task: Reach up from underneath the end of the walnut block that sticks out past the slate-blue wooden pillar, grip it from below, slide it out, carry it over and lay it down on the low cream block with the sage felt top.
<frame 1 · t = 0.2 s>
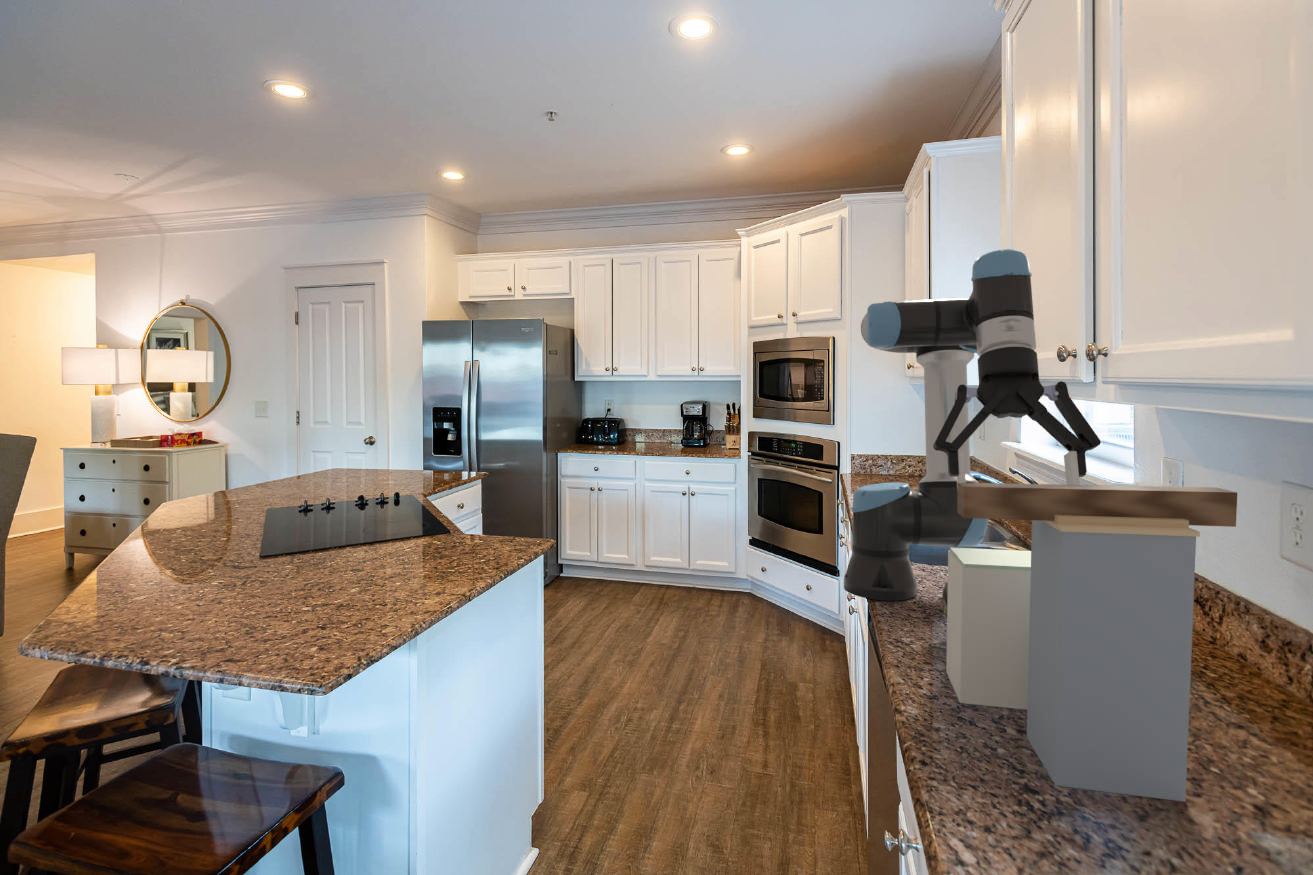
hand: (1017, 500, 86), 28 cm above the worktop, tool tilted 20°, fingers open, 13 cm apart
stone: (978, 648, 107), on the worktop
walnut block: (1086, 519, 71), point 28 cm above the worktop, touching pillar
pillar: (1099, 766, 72), on the worktop
felt block: (1029, 694, 90), on the worktop
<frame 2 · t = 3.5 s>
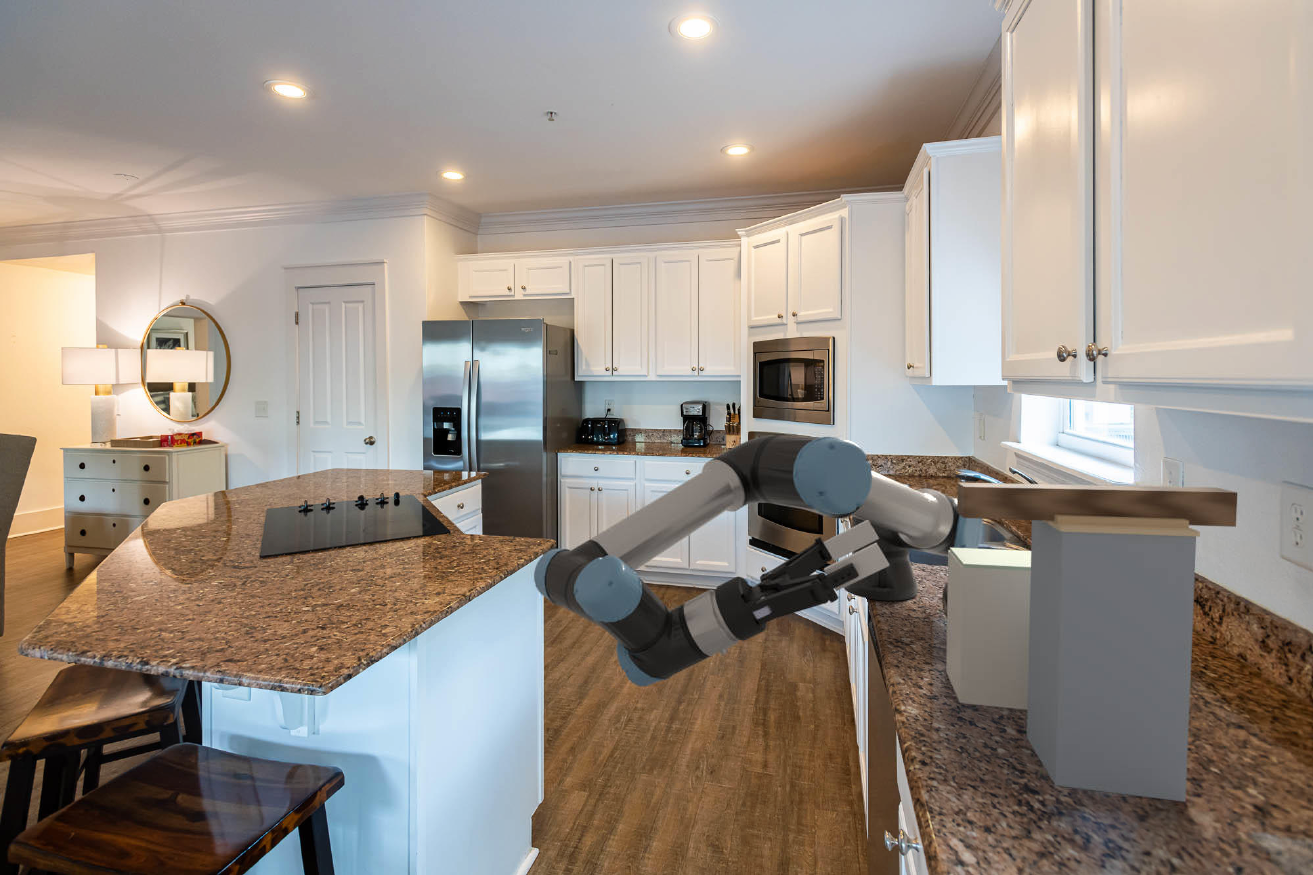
hand: (878, 540, 77), 25 cm above the worktop, tool pointing upward, fingers open, 13 cm apart
nothing on the worktop moved.
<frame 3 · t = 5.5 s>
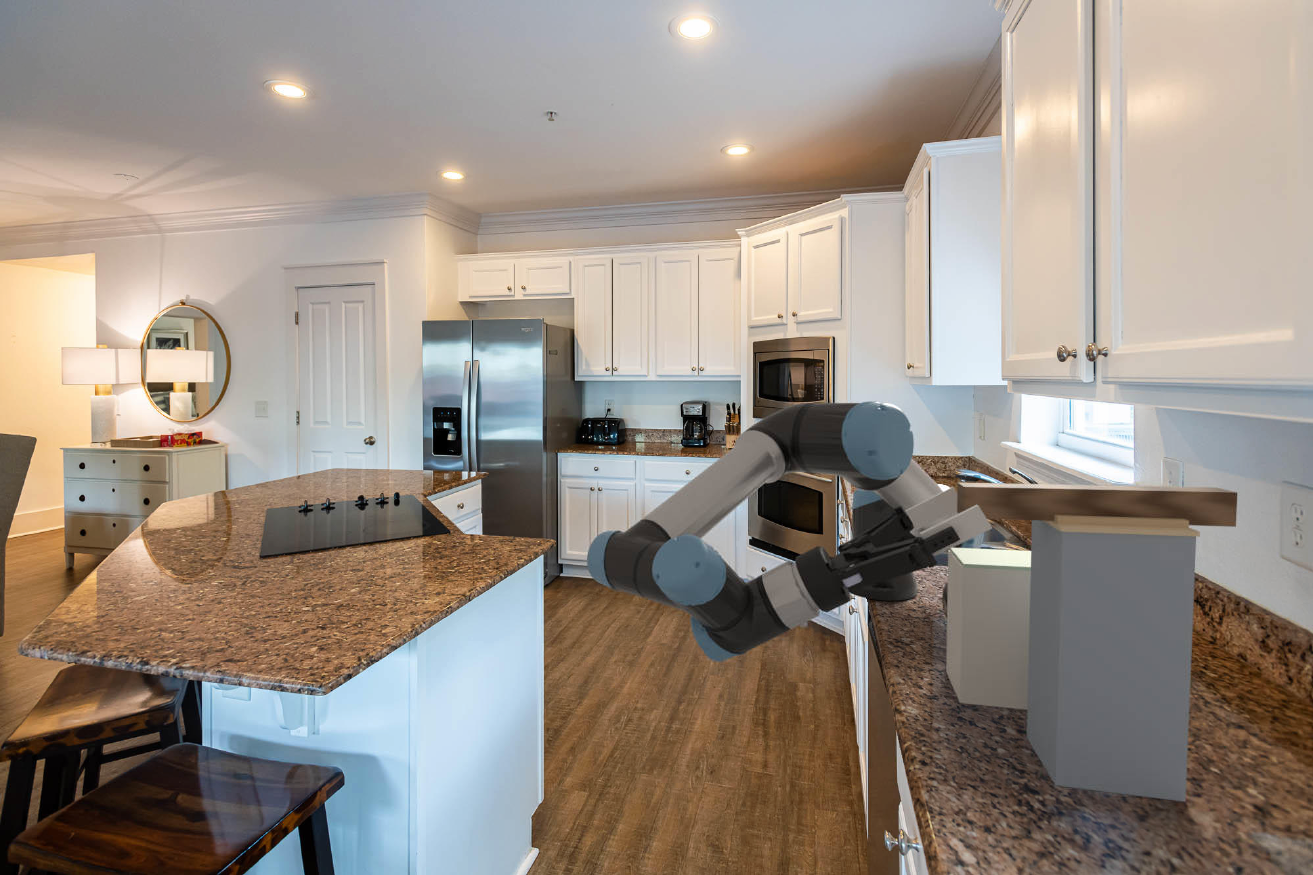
hand: (971, 505, 73), 30 cm above the worktop, tool pointing upward, fingers open, 13 cm apart
nothing on the worktop moved.
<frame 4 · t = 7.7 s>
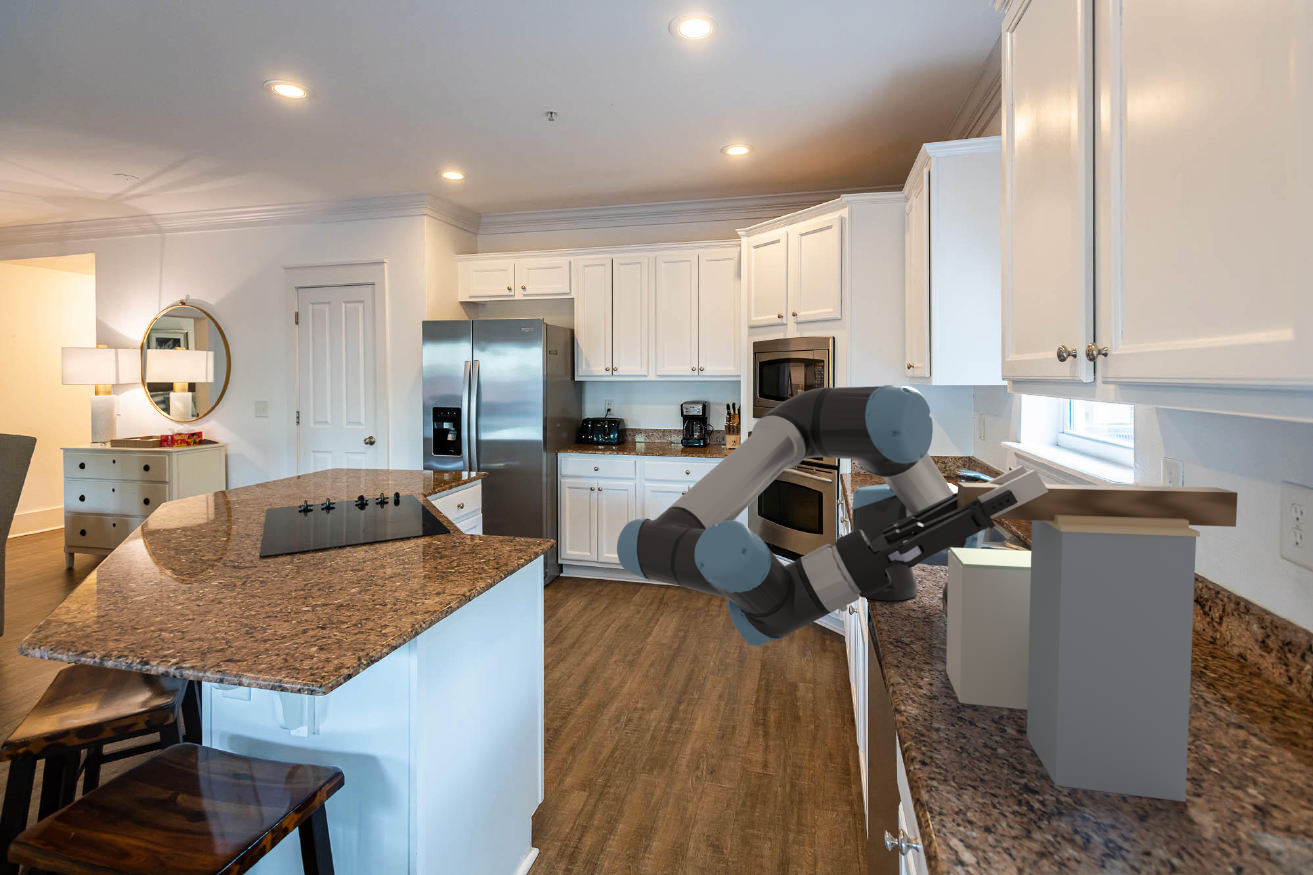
hand: (1034, 478, 72), 33 cm above the worktop, tool pointing upward, fingers closed on walnut block, 4 cm apart
walnut block: (1086, 519, 71), point 29 cm above the worktop, touching gripper
everything else where it was.
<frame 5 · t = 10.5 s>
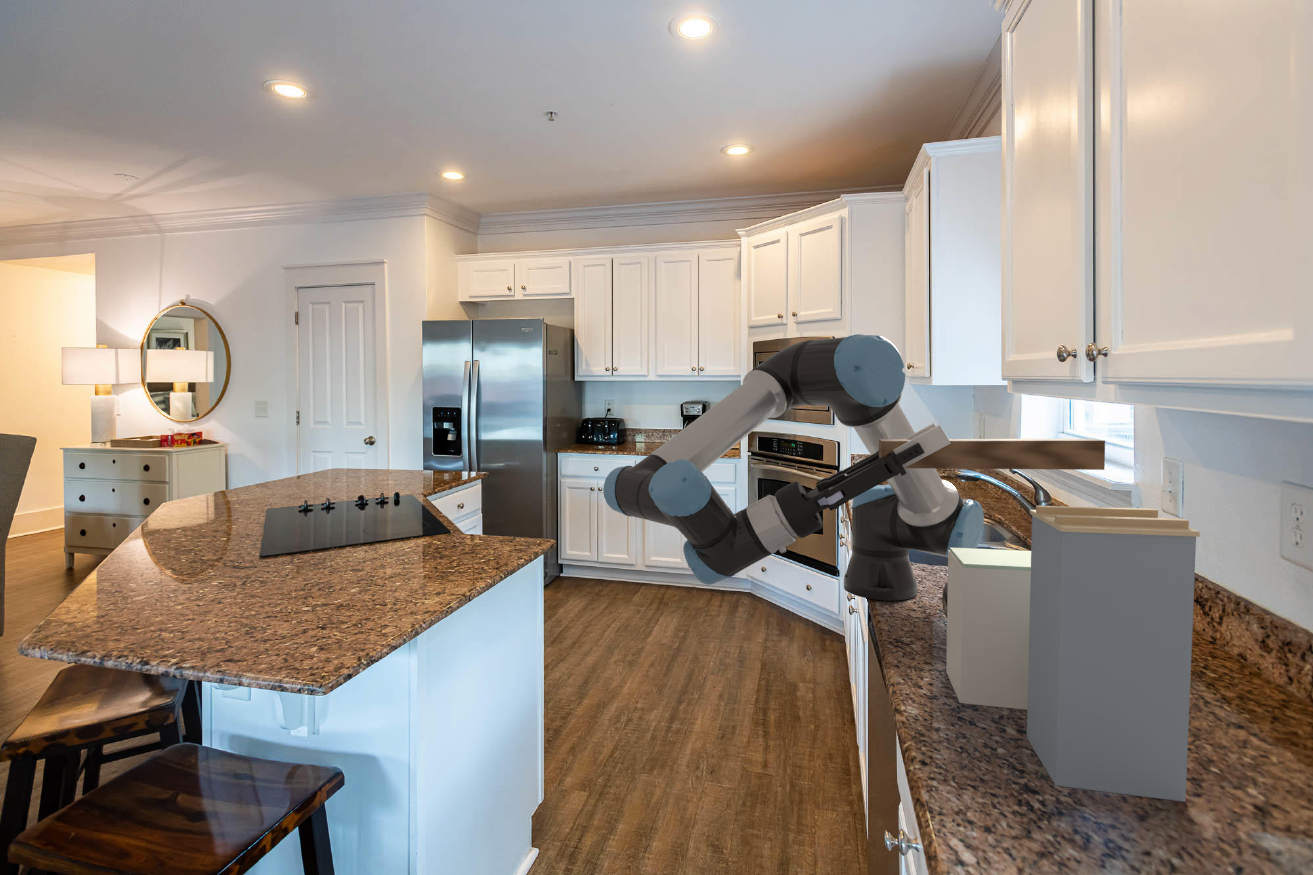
hand: (941, 433, 84), 38 cm above the worktop, tool pointing upward, fingers closed on walnut block, 4 cm apart
walnut block: (984, 467, 83), point 33 cm above the worktop, touching gripper
everything else where it was.
when the fingers open (25 cm above the worktop, at t = 13.7 s): walnut block drops 1 cm, resting on felt block.
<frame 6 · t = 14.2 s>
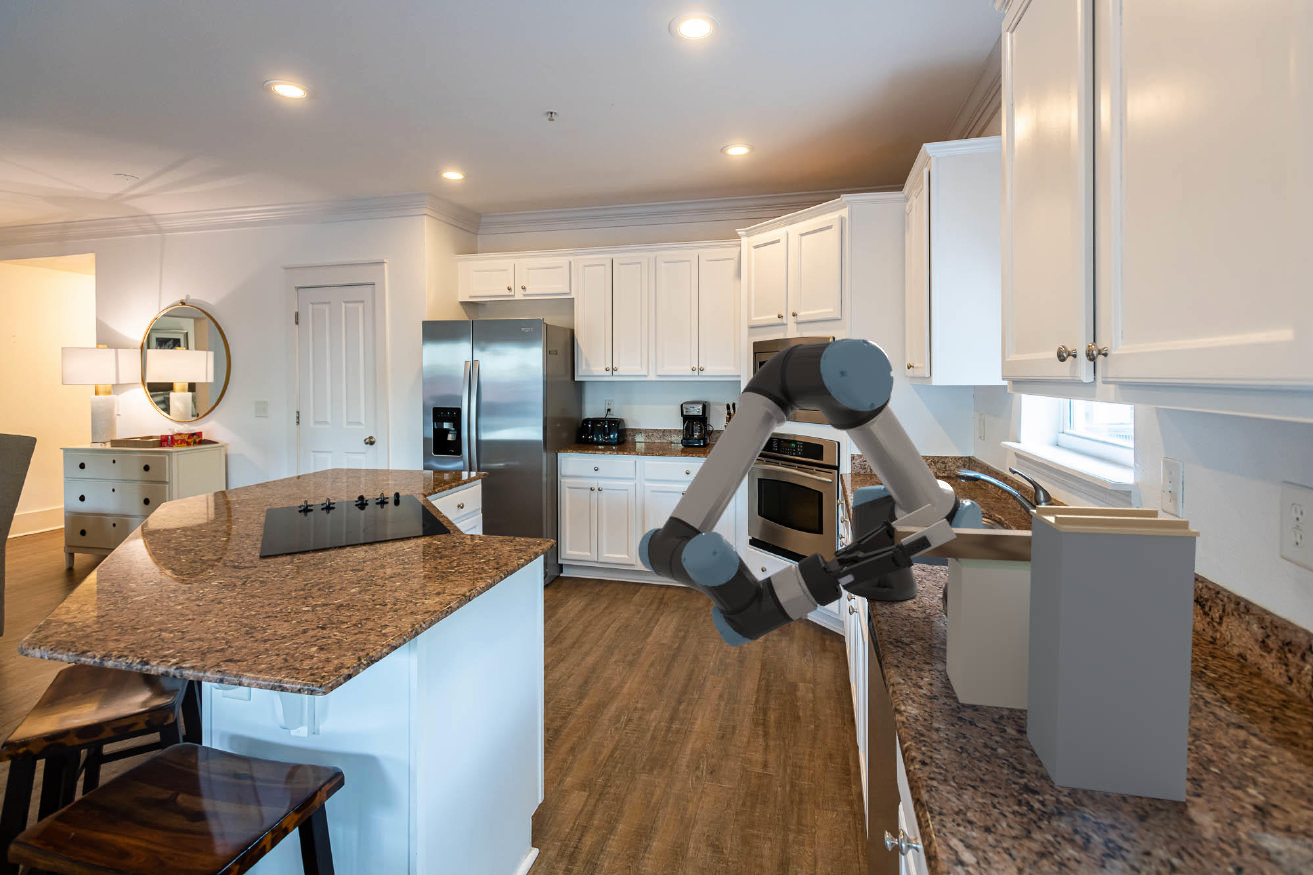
hand: (942, 519, 91), 25 cm above the worktop, tool pointing upward, fingers open, 11 cm apart
walnut block: (992, 556, 90), point 19 cm above the worktop, touching felt block
everything else where it was.
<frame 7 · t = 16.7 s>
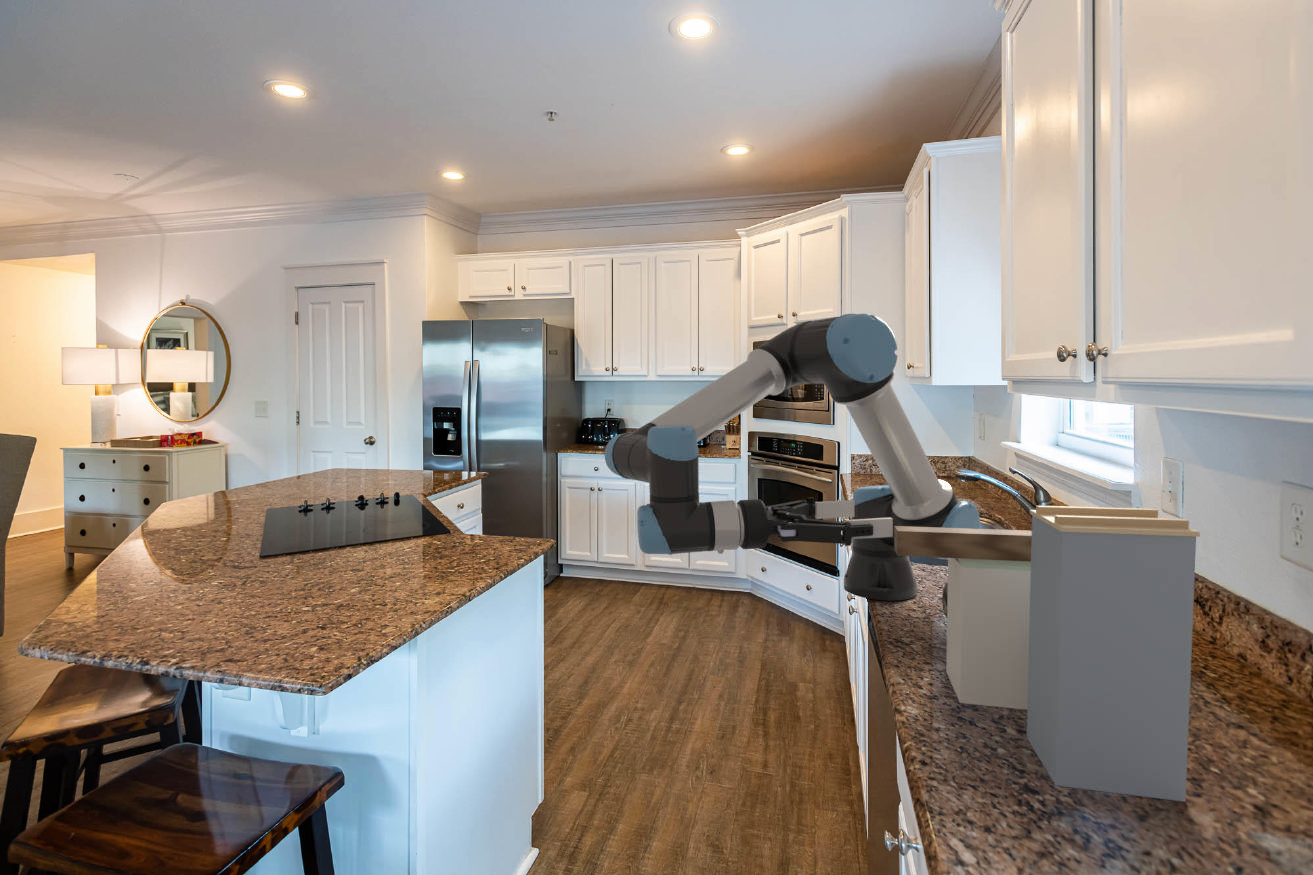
hand: (871, 517, 99), 24 cm above the worktop, tool horizontal, fingers open, 13 cm apart
nothing on the worktop moved.
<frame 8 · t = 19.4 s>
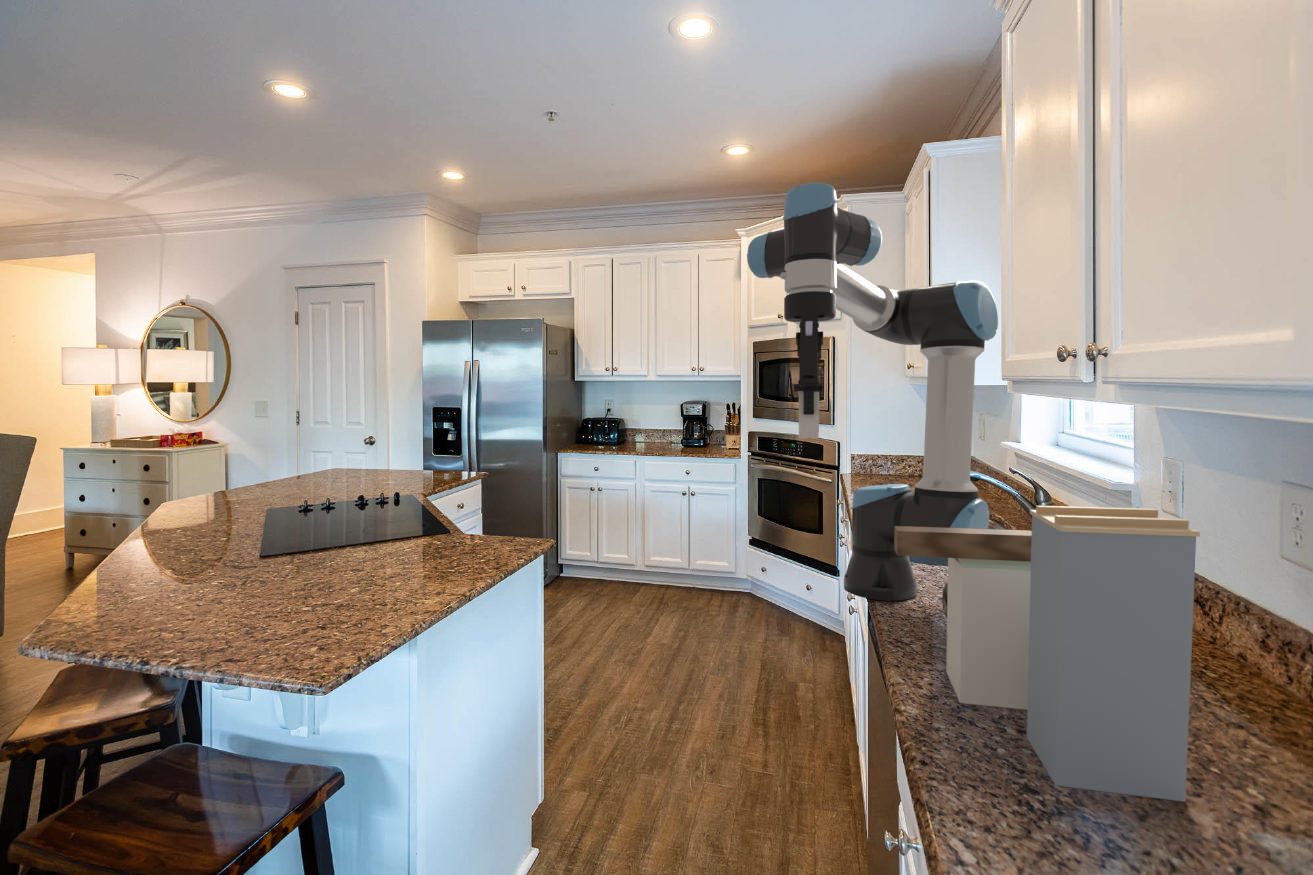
hand: (809, 435, 96), 37 cm above the worktop, tool pointing down, fingers open, 13 cm apart
nothing on the worktop moved.
at the end: walnut block inside the target area on the felt block (0.1 cm from its centre), point 19.5 cm above the felt block's base; walnut block tilted 0°; the gripper is holding nothing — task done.
